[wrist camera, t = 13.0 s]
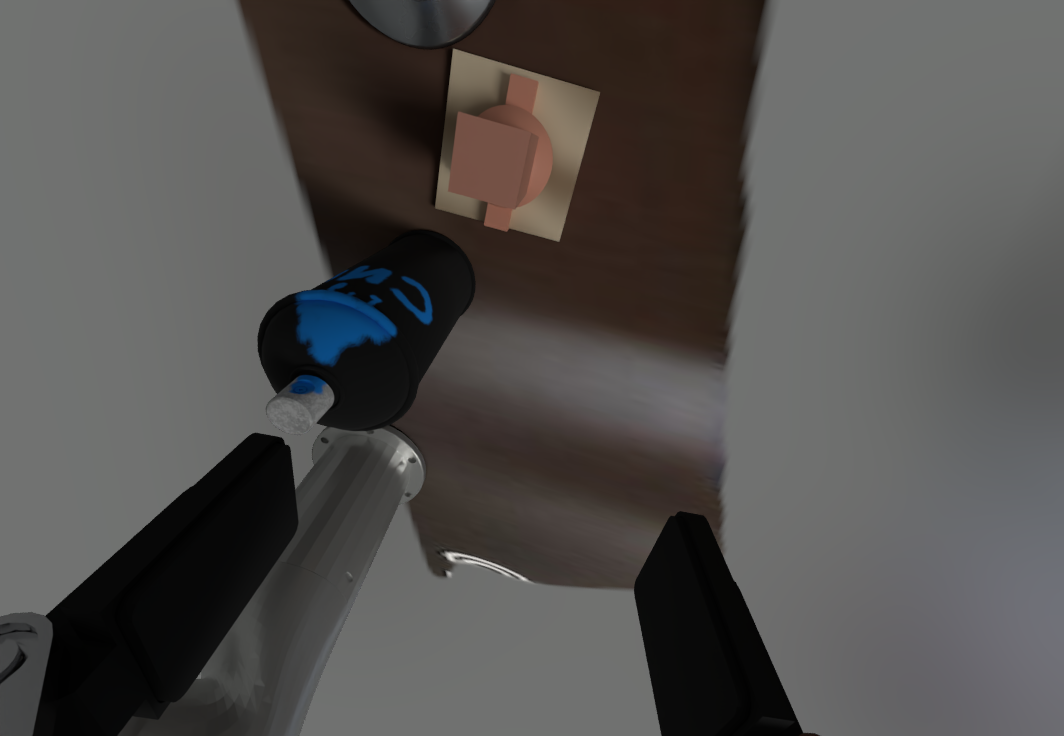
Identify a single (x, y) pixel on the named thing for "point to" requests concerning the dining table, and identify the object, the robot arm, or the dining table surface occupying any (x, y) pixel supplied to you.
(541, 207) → the mat
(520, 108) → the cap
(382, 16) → the column on round base
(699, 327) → the dining table surface
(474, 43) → the dining table surface
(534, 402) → the dining table surface
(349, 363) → the aerosol can
